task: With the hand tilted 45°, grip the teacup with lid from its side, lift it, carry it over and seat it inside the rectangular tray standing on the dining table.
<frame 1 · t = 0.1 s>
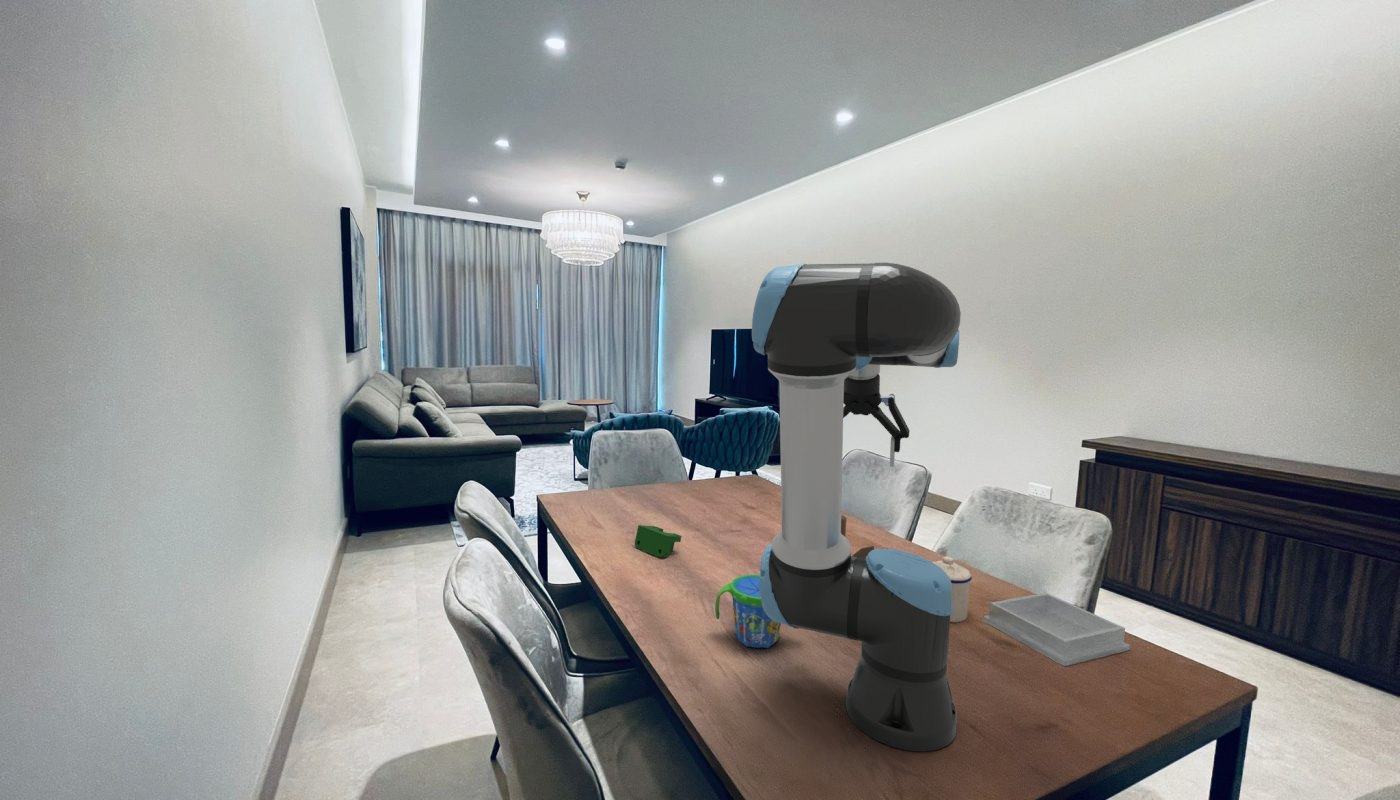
hand: (860, 461, 130), 28 cm above the table, tool tilted 20°, fingers open, 13 cm apart
wooden block: (844, 605, 119), on the table
snack cup: (756, 640, 103), on the table
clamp: (658, 551, 146), on the table
rectangular tray: (1052, 634, 108), on the table
teacup with lid: (936, 611, 117), on the table
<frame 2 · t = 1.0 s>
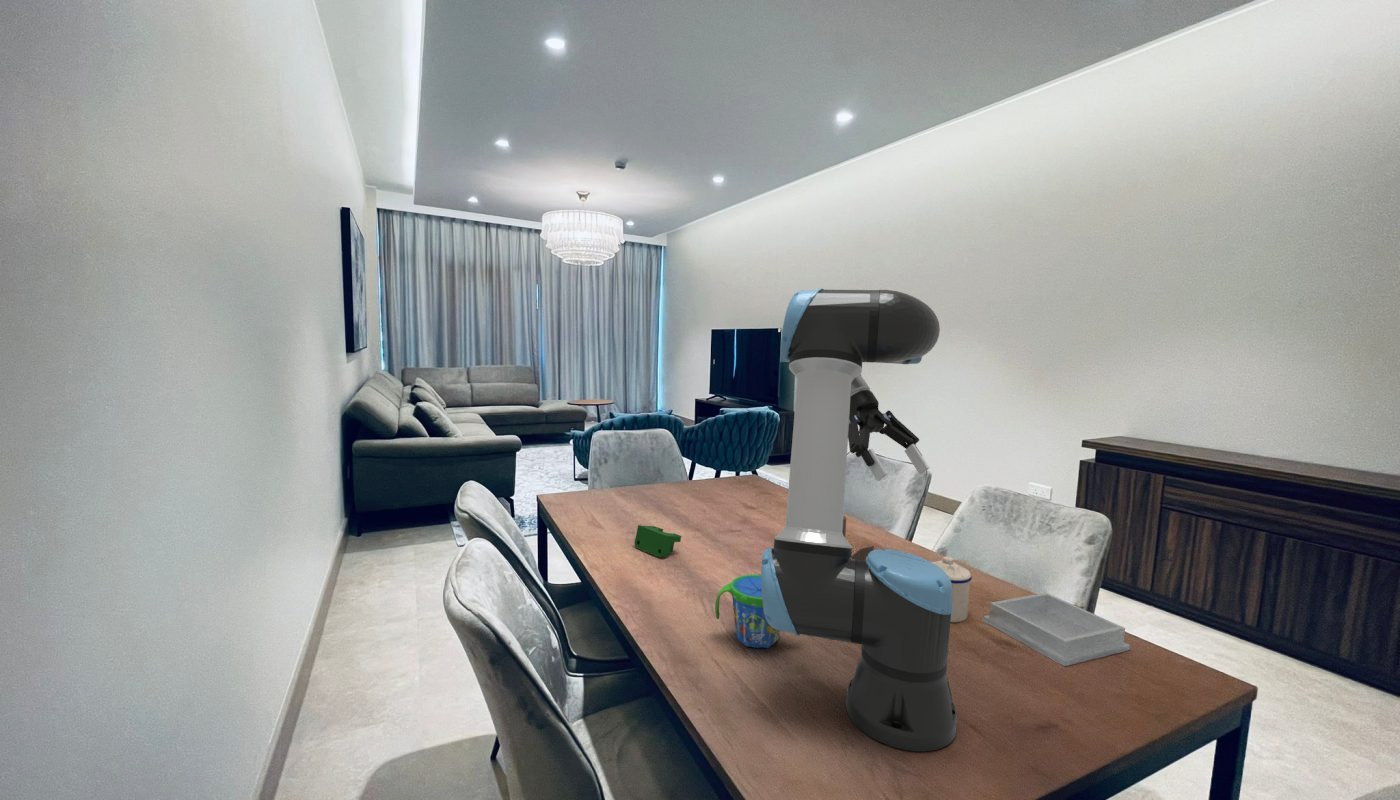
hand: (904, 474, 124), 26 cm above the table, tool tilted 45°, fingers open, 13 cm apart
nothing on the table moved.
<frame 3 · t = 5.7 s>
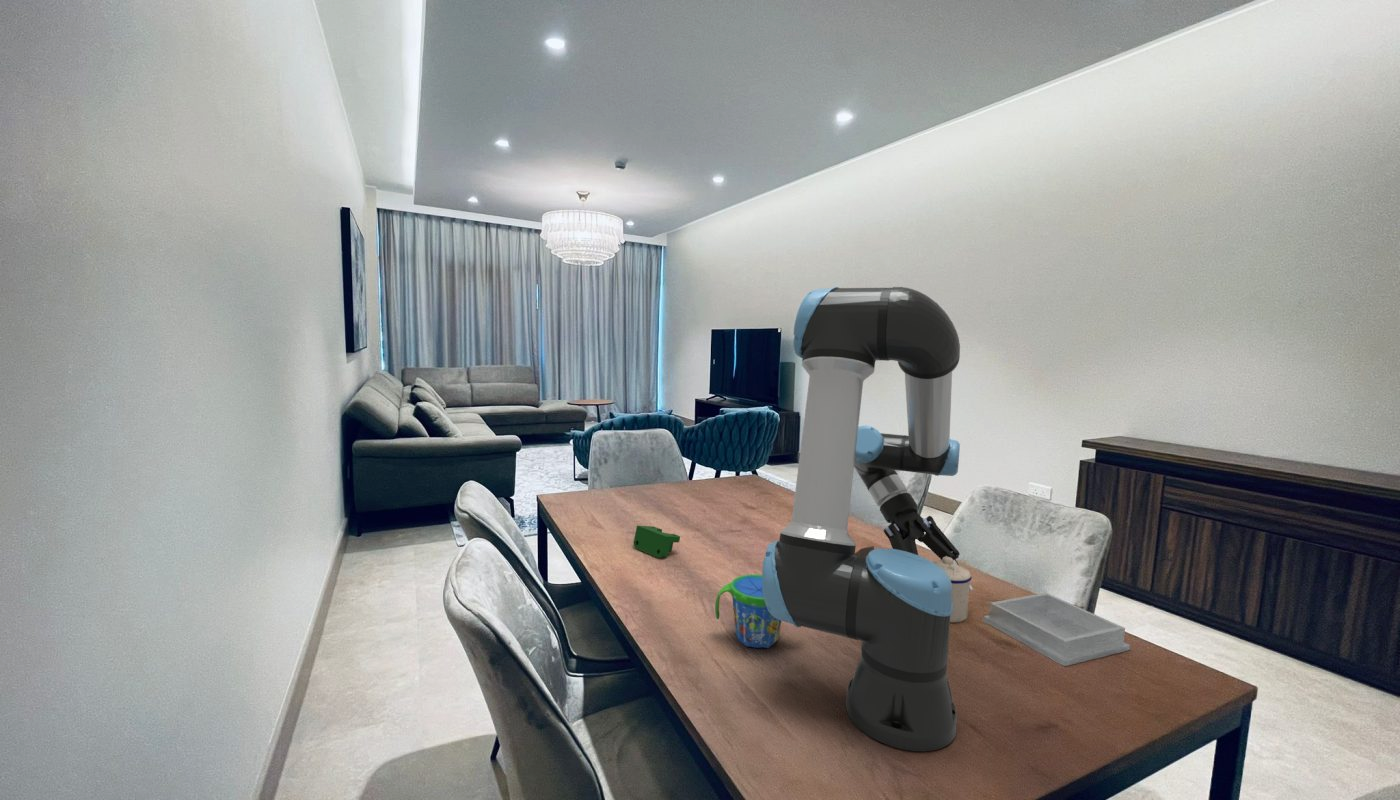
hand: (953, 597, 114), 4 cm above the table, tool tilted 45°, fingers closed on teacup with lid, 9 cm apart
teacup with lid: (936, 611, 117), on the table, touching gripper
everything else where it was.
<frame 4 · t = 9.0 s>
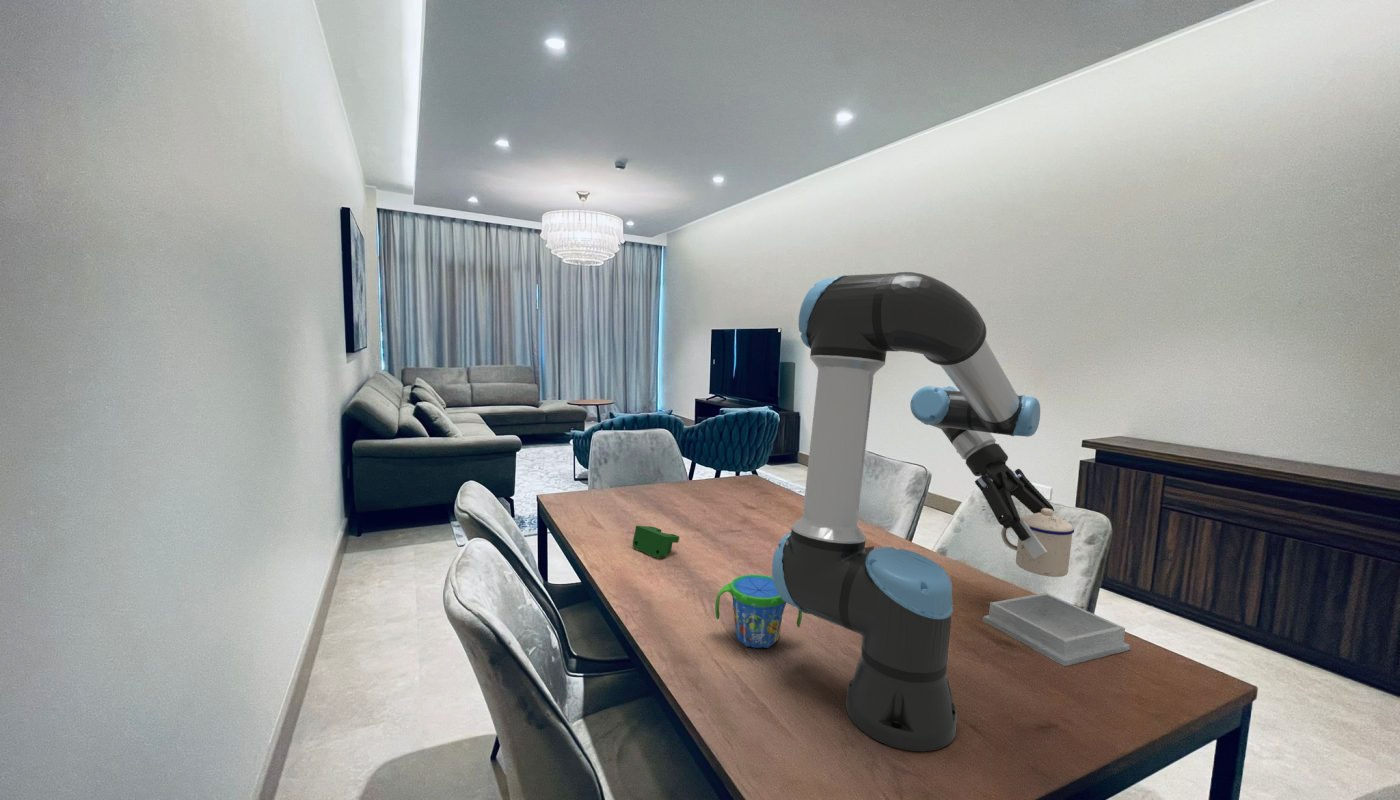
hand: (1053, 550, 107), 16 cm above the table, tool tilted 45°, fingers closed on teacup with lid, 9 cm apart
teacup with lid: (1032, 567, 110), point 12 cm above the table, touching gripper
everything else where it was.
when the fingers open (6 cm above the table, at t = 12.3 s): teacup with lid drops 1 cm, resting on rectangular tray.
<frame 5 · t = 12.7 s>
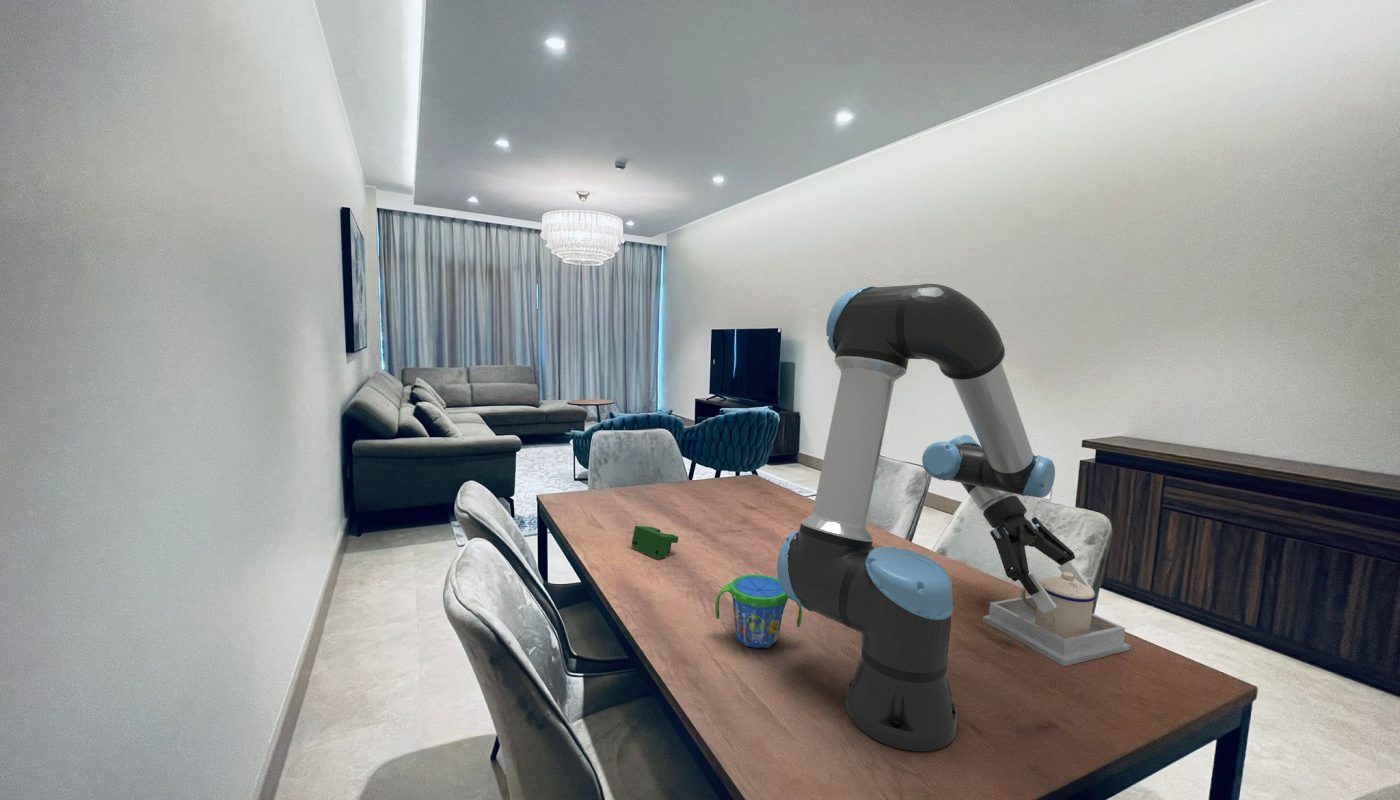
hand: (1069, 602, 106), 7 cm above the table, tool tilted 45°, fingers open, 13 cm apart
teacup with lid: (1052, 630, 108), point 1 cm above the table, touching rectangular tray
everything else where it was.
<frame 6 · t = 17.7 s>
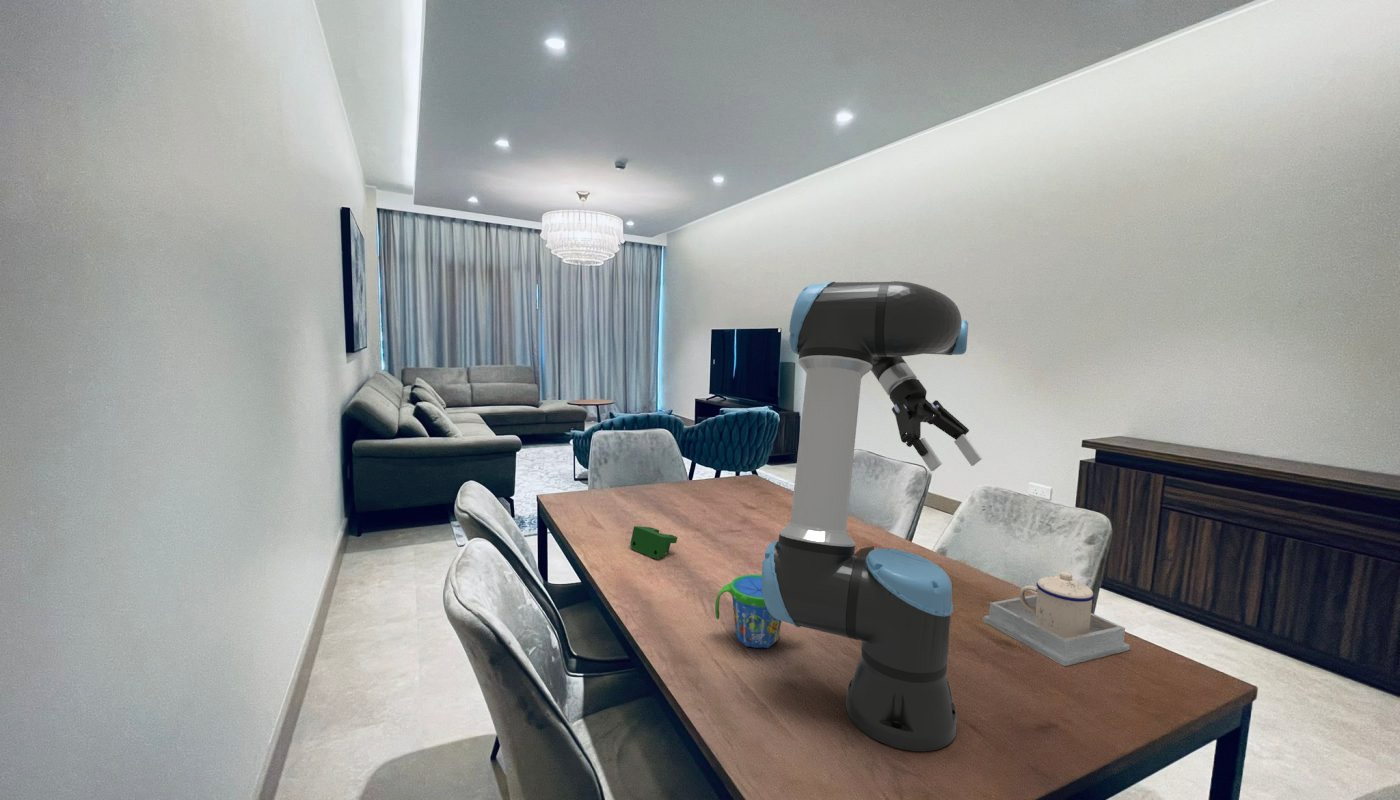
hand: (957, 465, 119), 30 cm above the table, tool tilted 45°, fingers open, 13 cm apart
at the end: teacup with lid inside the target area on the rectangular tray (0.4 cm from its centre), point 0.8 cm above the rectangular tray's base; teacup with lid tilted 0°; the gripper is holding nothing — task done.
